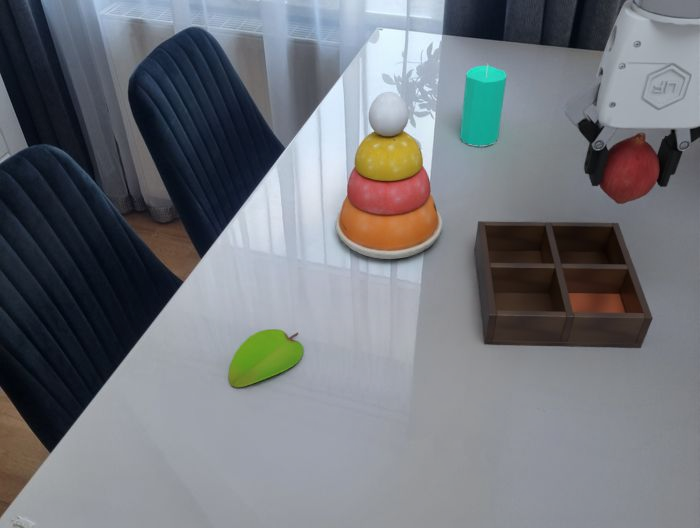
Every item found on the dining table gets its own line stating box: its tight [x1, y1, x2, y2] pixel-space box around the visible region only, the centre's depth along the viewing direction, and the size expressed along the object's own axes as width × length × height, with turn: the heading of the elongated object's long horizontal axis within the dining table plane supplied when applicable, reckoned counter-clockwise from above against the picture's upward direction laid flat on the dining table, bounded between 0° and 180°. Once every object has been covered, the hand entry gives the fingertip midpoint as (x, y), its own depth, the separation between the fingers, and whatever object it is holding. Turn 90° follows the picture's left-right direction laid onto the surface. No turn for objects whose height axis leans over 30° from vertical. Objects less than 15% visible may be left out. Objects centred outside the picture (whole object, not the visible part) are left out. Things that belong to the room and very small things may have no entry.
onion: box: [599, 132, 660, 205], centre depth 69 cm, size 6×6×8 cm
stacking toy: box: [335, 91, 443, 260], centre depth 86 cm, size 14×14×20 cm
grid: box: [473, 220, 653, 349], centre depth 81 cm, size 17×17×5 cm
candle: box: [459, 63, 507, 146], centre depth 105 cm, size 6×6×12 cm
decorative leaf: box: [228, 328, 304, 388], centre depth 76 cm, size 8×9×1 cm
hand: (626, 177), depth 70 cm, fingers closed on onion, 5 cm apart
